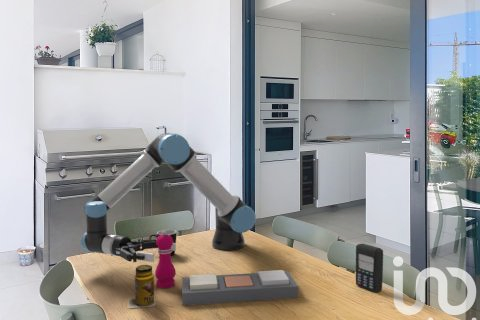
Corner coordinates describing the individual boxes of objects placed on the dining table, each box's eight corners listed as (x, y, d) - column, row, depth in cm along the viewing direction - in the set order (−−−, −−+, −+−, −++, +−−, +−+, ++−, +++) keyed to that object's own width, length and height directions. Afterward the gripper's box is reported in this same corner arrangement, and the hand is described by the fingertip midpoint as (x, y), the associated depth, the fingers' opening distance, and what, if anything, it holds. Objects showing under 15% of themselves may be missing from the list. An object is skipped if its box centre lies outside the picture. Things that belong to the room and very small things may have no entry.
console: (182, 288, 152) (182, 277, 151) (288, 281, 157) (288, 271, 156) (182, 305, 138) (182, 293, 138) (298, 297, 143) (298, 286, 142)
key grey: (258, 279, 152) (258, 271, 152) (283, 278, 153) (283, 270, 153) (262, 289, 143) (262, 280, 143) (289, 288, 145) (289, 279, 144)
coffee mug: (181, 253, 191) (180, 231, 190) (168, 258, 184) (167, 236, 183) (161, 249, 197) (161, 227, 196) (148, 254, 190) (147, 232, 189)
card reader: (353, 285, 152) (354, 244, 151) (360, 283, 155) (361, 242, 153) (375, 294, 145) (376, 250, 144) (383, 291, 147) (384, 248, 146)
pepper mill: (158, 290, 150) (157, 234, 148) (153, 283, 157) (151, 229, 155) (178, 286, 153) (177, 231, 151) (172, 279, 160) (170, 227, 158)
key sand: (189, 283, 149) (189, 275, 149) (215, 282, 151) (215, 273, 150) (190, 294, 141) (189, 285, 140) (217, 292, 142) (217, 283, 141)
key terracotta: (224, 285, 151) (224, 276, 151) (249, 283, 152) (249, 275, 152) (226, 295, 142) (226, 286, 142) (253, 293, 143) (253, 285, 143)
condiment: (155, 306, 138) (154, 269, 137) (128, 309, 136) (127, 272, 135) (155, 297, 145) (154, 262, 144) (129, 299, 143) (127, 264, 142)
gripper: (138, 246, 174) (183, 252, 165) (94, 265, 151) (143, 274, 143) (138, 227, 173) (183, 233, 164) (93, 244, 151) (142, 252, 142)
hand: (164, 252), depth 154 cm, fingers open, 13 cm apart
